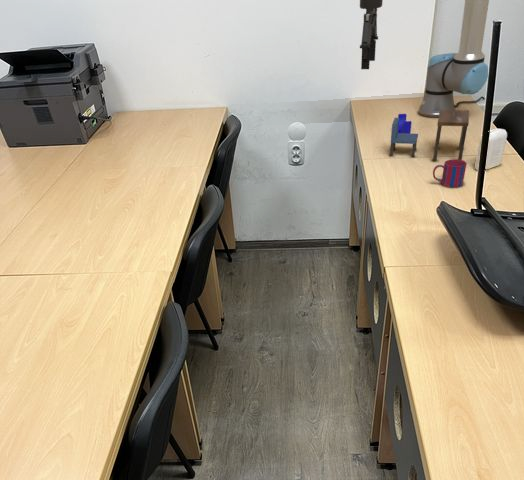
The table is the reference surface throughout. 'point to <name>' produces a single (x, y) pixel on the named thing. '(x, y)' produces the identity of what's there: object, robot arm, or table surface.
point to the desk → (452, 120)
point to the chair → (402, 138)
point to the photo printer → (494, 148)
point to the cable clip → (404, 124)
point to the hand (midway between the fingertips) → (368, 64)
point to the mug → (452, 173)
